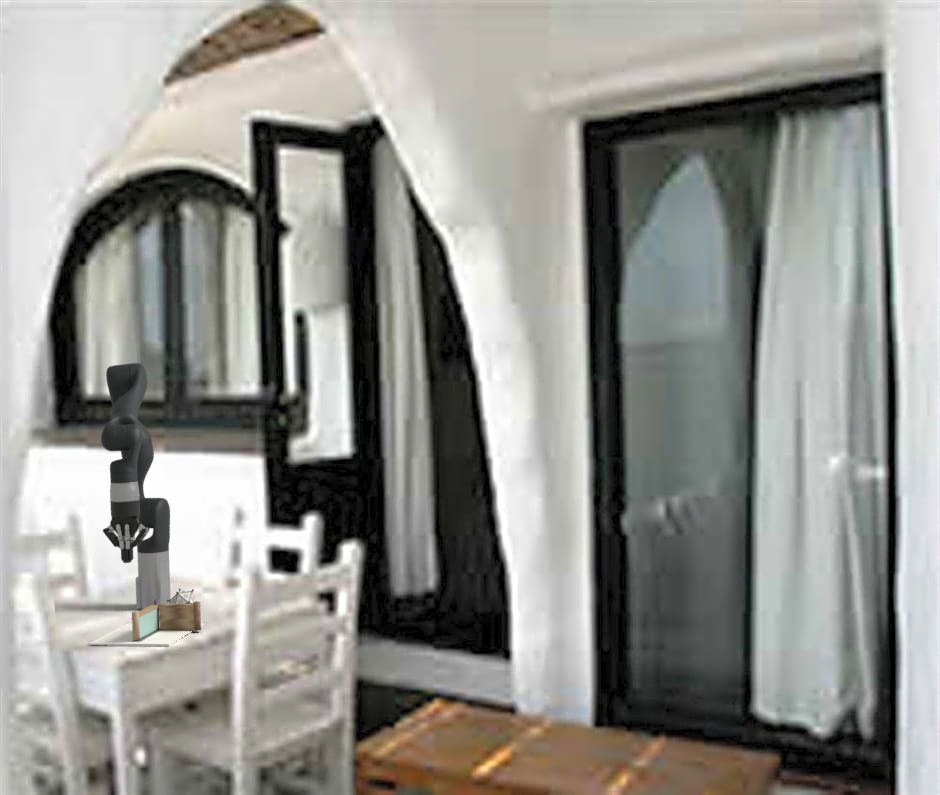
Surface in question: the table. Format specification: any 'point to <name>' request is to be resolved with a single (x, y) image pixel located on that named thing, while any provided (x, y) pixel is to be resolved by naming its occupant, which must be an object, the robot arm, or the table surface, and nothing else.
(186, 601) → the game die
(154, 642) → the board
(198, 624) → the fixed fence section
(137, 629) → the tan and green panel
